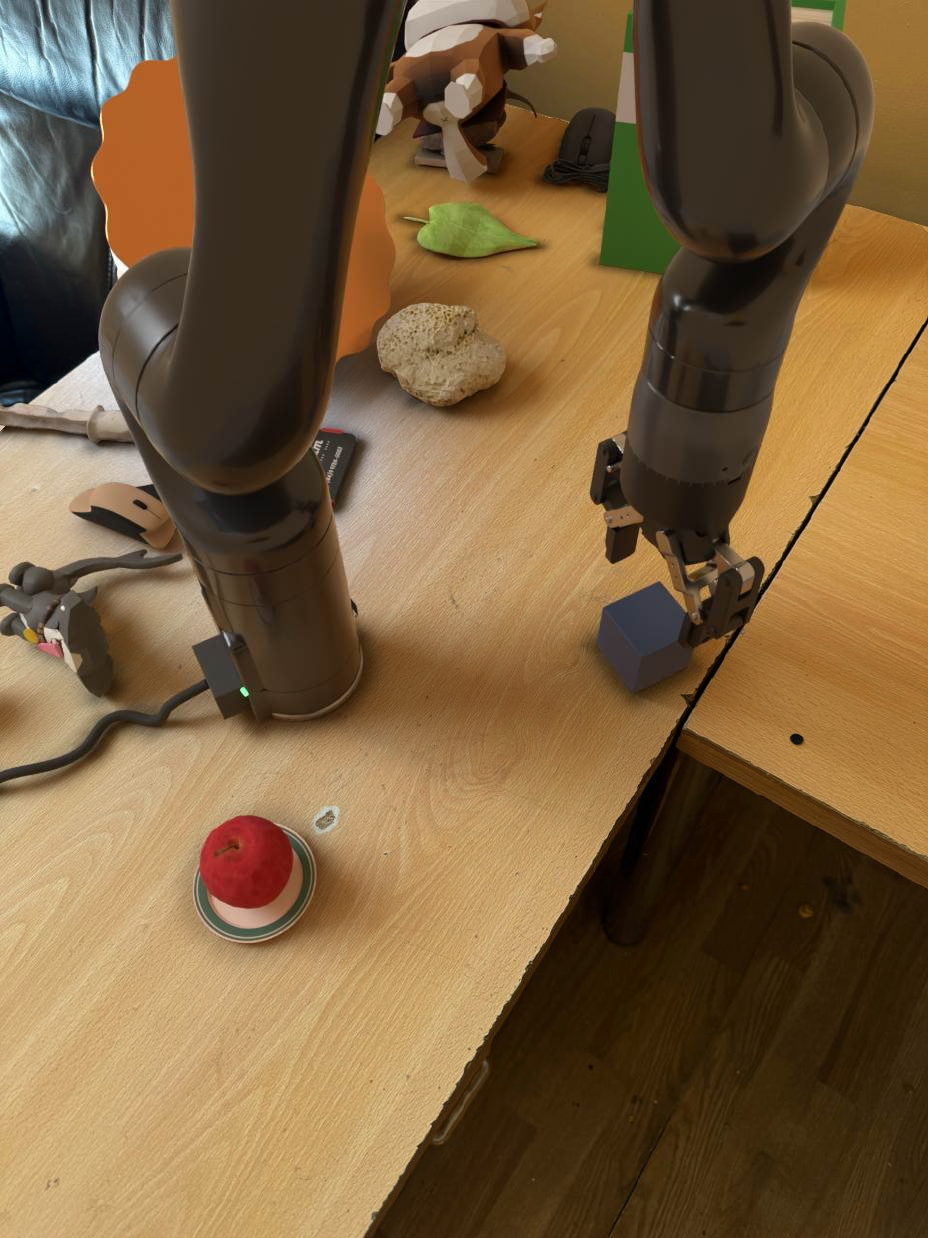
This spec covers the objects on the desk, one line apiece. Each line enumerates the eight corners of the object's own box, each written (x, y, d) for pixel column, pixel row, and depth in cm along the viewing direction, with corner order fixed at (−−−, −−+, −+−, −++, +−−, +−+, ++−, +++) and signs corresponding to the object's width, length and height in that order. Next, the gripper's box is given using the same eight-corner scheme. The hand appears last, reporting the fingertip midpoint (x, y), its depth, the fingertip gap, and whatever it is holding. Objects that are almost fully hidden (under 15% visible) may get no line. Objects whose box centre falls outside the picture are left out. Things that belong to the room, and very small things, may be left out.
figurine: (538, 157, 111) (542, 81, 104) (531, 178, 109) (534, 101, 102) (425, 144, 113) (421, 68, 106) (414, 164, 111) (410, 87, 104)
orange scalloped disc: (358, 74, 89) (270, 160, 103) (55, 20, 71) (-1, 132, 85) (421, 369, 91) (327, 414, 105) (142, 386, 74) (74, 437, 88)
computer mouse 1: (112, 467, 83) (97, 433, 80) (207, 503, 80) (195, 470, 77) (64, 517, 80) (46, 484, 76) (161, 557, 77) (147, 525, 74)
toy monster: (-88, 531, 62) (22, 571, 59) (112, 529, 79) (207, 560, 75) (-111, 734, 65) (-7, 784, 61) (87, 691, 81) (177, 728, 78)
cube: (632, 695, 69) (642, 658, 65) (595, 645, 72) (602, 607, 67) (688, 667, 70) (701, 629, 66) (650, 619, 73) (659, 580, 69)
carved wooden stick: (264, 438, 85) (257, 415, 83) (251, 468, 83) (244, 446, 81) (11, 406, 88) (-2, 384, 86) (-8, 435, 86) (-21, 413, 84)
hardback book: (599, 264, 99) (627, 13, 80) (612, 224, 103) (642, -23, 84) (768, 289, 96) (841, 36, 77) (775, 248, 100) (846, -3, 81)
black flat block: (330, 510, 79) (273, 502, 80) (331, 515, 80) (275, 507, 80) (359, 432, 84) (306, 425, 85) (360, 438, 85) (307, 431, 86)
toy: (288, 50, 93) (389, -23, 113) (351, 233, 105) (433, 137, 125) (510, -10, 84) (578, -78, 104) (552, 197, 96) (606, 101, 116)
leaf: (418, 201, 106) (416, 185, 105) (546, 230, 102) (546, 213, 100) (383, 249, 102) (380, 233, 101) (515, 280, 98) (515, 264, 96)
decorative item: (356, 386, 82) (368, 282, 84) (384, 425, 91) (394, 330, 93) (491, 385, 80) (501, 278, 82) (507, 426, 88) (515, 328, 90)
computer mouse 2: (640, 128, 115) (644, 96, 112) (628, 195, 107) (632, 162, 103) (558, 122, 116) (560, 89, 113) (540, 187, 108) (541, 154, 105)
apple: (170, 914, 60) (140, 879, 55) (236, 808, 64) (214, 765, 59) (278, 966, 58) (257, 934, 53) (339, 852, 62) (325, 812, 57)
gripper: (568, 381, 56) (555, 552, 69) (722, 540, 49) (673, 696, 62) (671, 337, 58) (638, 511, 71) (832, 483, 50) (762, 647, 64)
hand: (655, 597), depth 66 cm, fingers open, 8 cm apart
